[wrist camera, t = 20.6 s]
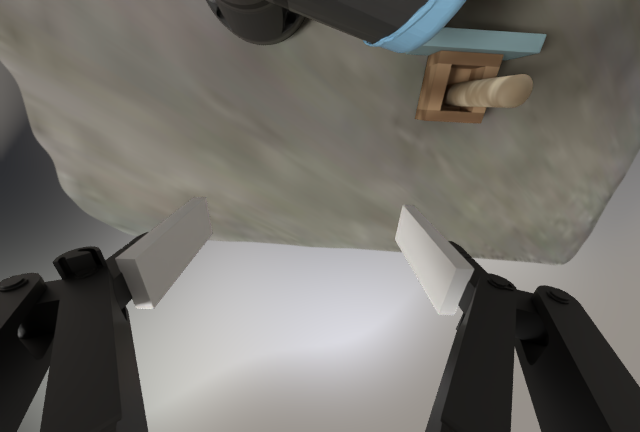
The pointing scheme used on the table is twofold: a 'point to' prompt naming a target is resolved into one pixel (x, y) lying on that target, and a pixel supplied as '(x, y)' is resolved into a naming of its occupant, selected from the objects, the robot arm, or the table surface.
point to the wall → (483, 42)
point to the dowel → (490, 92)
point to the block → (454, 70)
